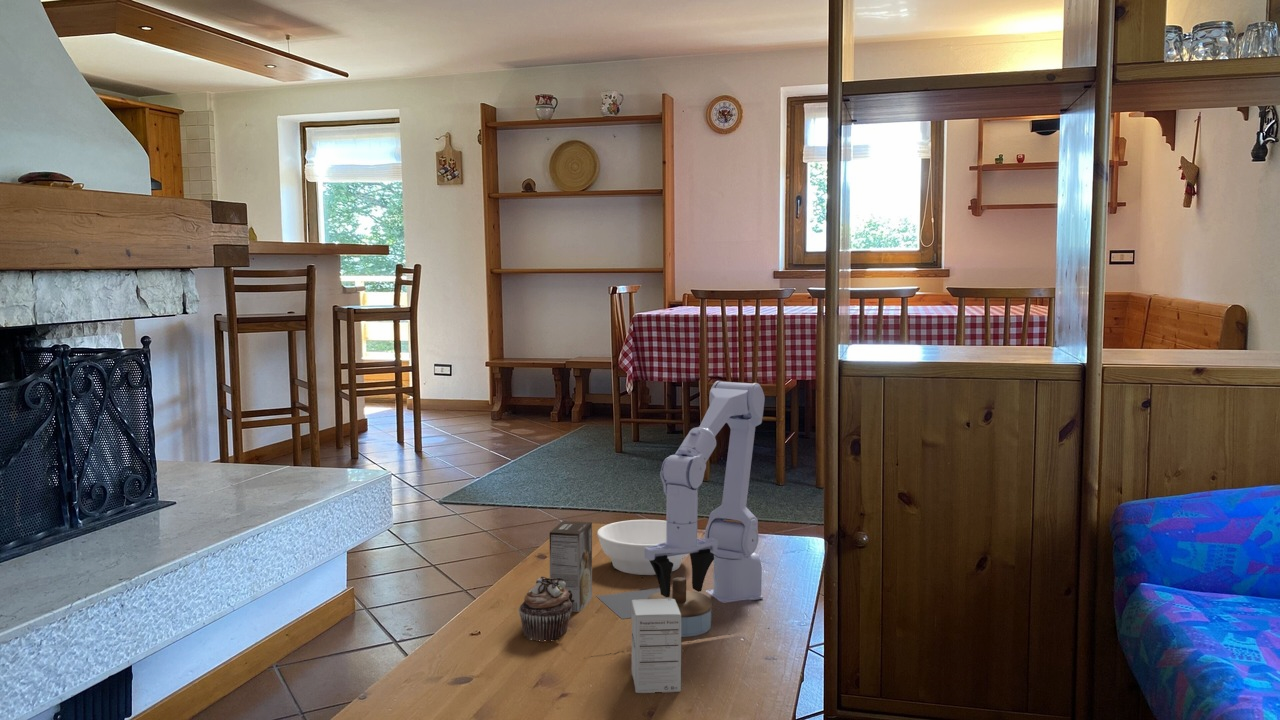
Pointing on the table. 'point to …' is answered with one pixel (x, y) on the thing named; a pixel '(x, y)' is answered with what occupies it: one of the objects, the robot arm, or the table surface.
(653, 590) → the mat
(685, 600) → the lid
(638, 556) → the bowl
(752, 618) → the table surface
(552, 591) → the cupcake
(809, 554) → the table surface
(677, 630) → the supplement box
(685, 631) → the small bowl
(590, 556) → the coffee box
